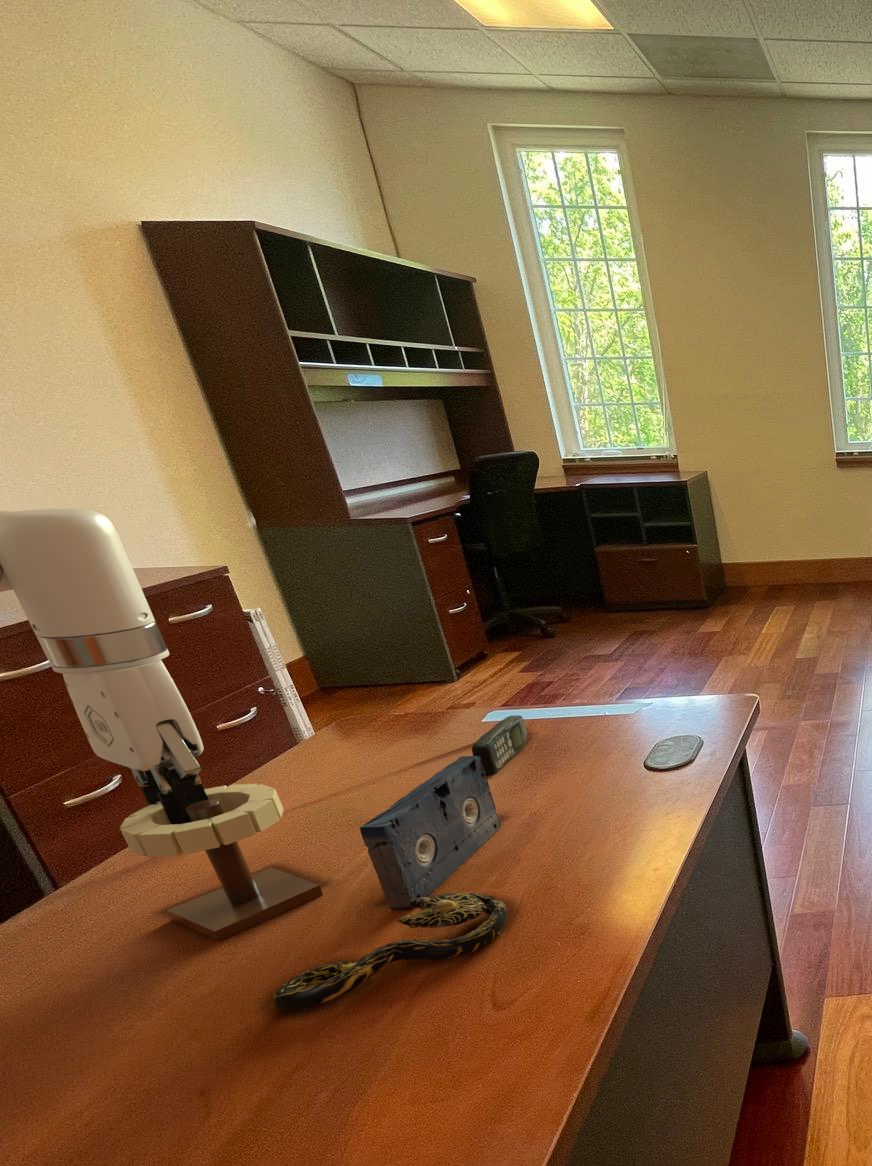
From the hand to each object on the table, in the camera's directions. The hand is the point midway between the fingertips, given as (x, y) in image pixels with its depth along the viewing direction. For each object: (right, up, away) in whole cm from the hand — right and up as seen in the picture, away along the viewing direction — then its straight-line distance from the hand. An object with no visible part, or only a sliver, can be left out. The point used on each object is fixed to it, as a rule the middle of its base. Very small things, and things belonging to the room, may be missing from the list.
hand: (186, 818), depth 81 cm
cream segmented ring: (+4, -1, -1) cm, 4 cm away
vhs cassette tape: (+20, -6, +10) cm, 23 cm away
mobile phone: (+7, +6, +39) cm, 40 cm away
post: (+4, -10, +2) cm, 11 cm away
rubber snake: (+27, -13, -5) cm, 30 cm away
